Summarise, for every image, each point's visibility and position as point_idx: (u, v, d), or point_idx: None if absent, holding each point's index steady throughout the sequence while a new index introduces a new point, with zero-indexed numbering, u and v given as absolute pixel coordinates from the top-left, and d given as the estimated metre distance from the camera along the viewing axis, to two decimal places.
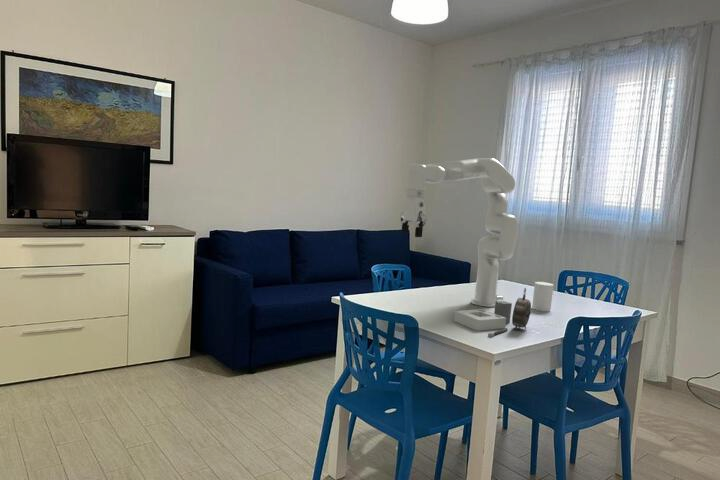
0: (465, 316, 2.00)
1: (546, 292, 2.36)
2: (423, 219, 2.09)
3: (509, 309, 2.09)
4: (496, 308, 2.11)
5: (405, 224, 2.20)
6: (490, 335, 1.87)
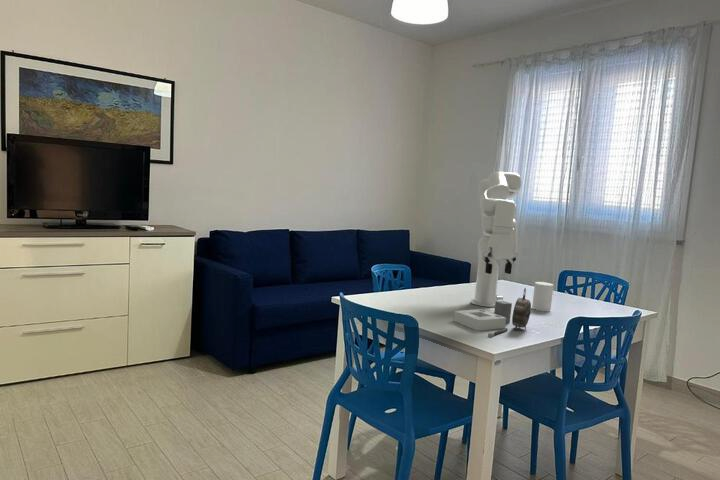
0: (465, 316, 2.00)
1: (546, 292, 2.36)
2: (516, 255, 2.12)
3: (509, 309, 2.09)
4: (496, 308, 2.11)
5: None
6: (490, 335, 1.87)
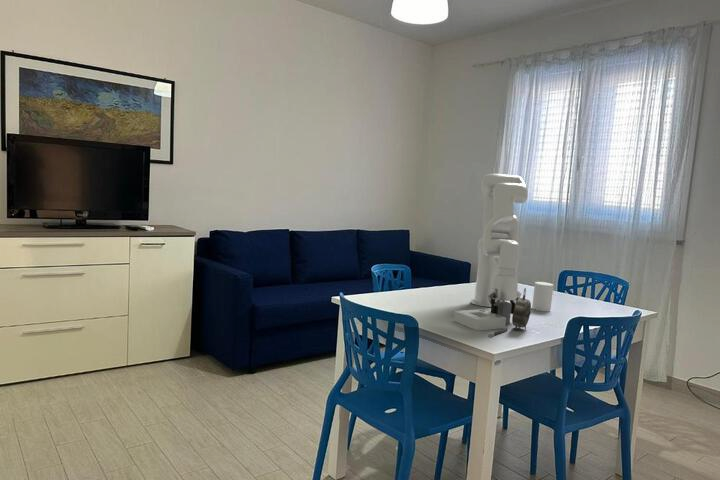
0: (465, 316, 2.00)
1: (546, 292, 2.36)
2: (520, 295, 2.13)
3: (509, 309, 2.09)
4: None
5: None
6: (490, 335, 1.87)
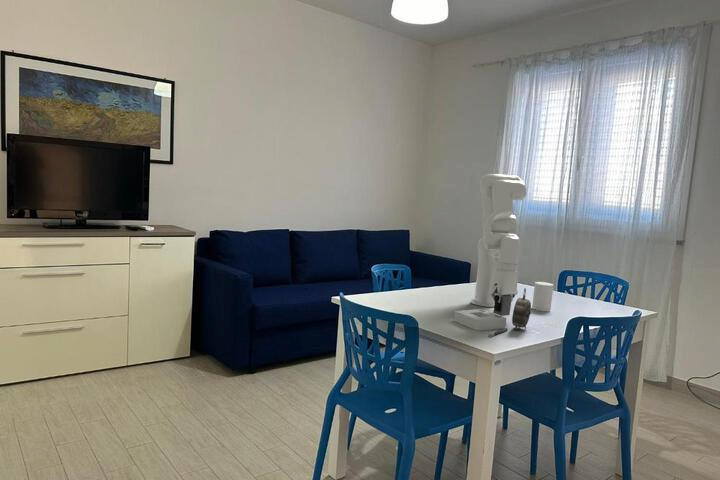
0: (465, 316, 2.00)
1: (546, 292, 2.36)
2: (516, 293, 2.13)
3: (509, 301, 2.10)
4: None
5: None
6: (490, 335, 1.87)
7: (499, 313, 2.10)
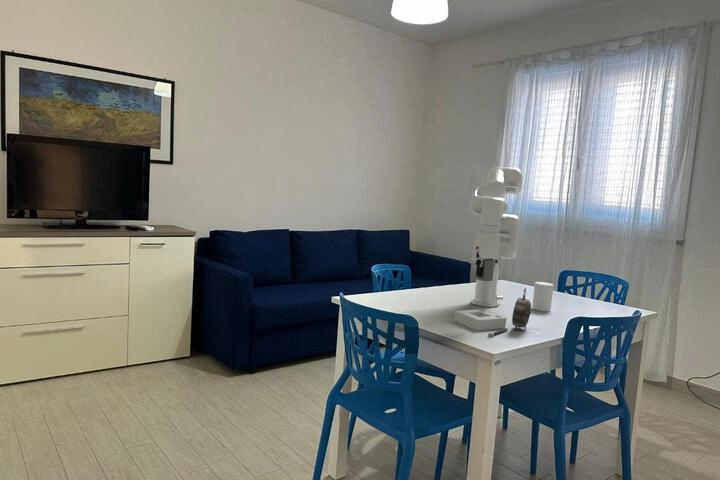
0: (465, 316, 2.00)
1: (546, 292, 2.36)
2: (499, 259, 2.04)
3: (492, 266, 2.00)
4: None
5: None
6: (490, 335, 1.87)
7: (481, 278, 2.00)
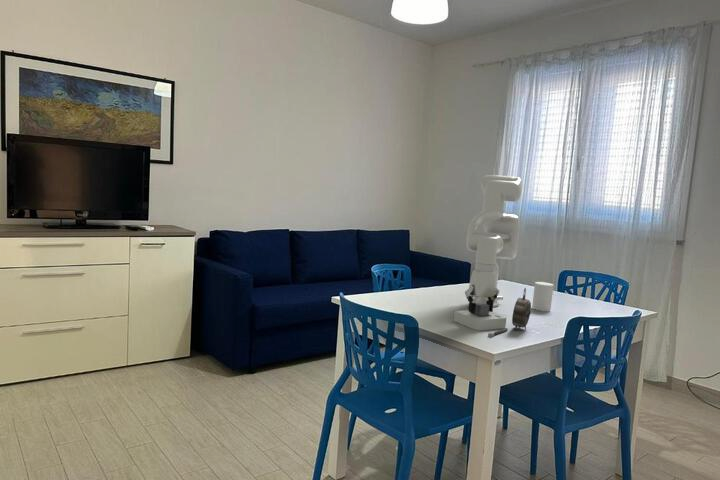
0: (465, 316, 2.00)
1: (546, 292, 2.36)
2: (498, 292, 2.06)
3: (487, 311, 2.02)
4: None
5: None
6: (490, 335, 1.87)
7: None
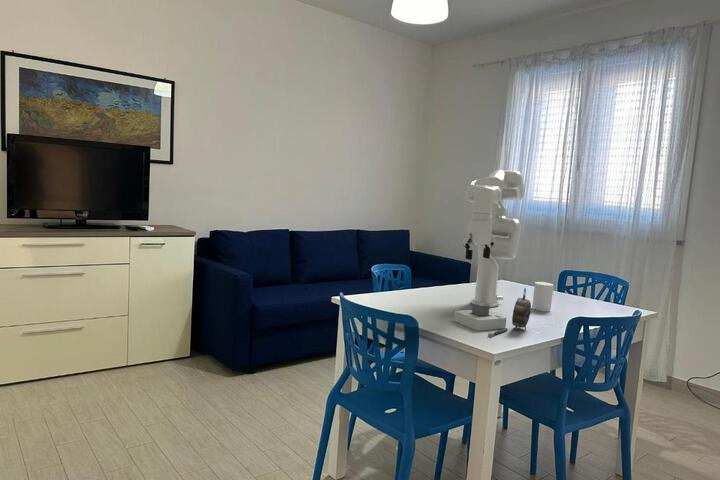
0: (465, 316, 2.00)
1: (546, 292, 2.36)
2: (494, 240, 2.16)
3: (487, 311, 2.02)
4: (473, 310, 2.03)
5: None
6: (490, 335, 1.87)
7: None
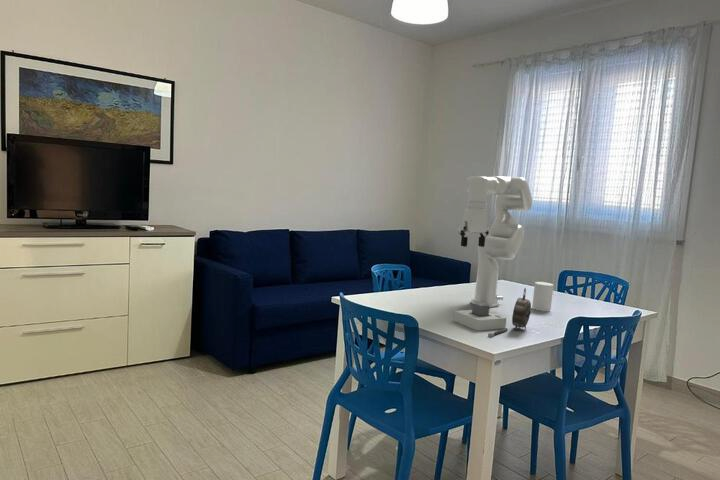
0: (465, 316, 2.00)
1: (546, 292, 2.36)
2: (489, 229, 2.24)
3: (487, 311, 2.02)
4: (473, 310, 2.03)
5: None
6: (490, 335, 1.87)
7: None
